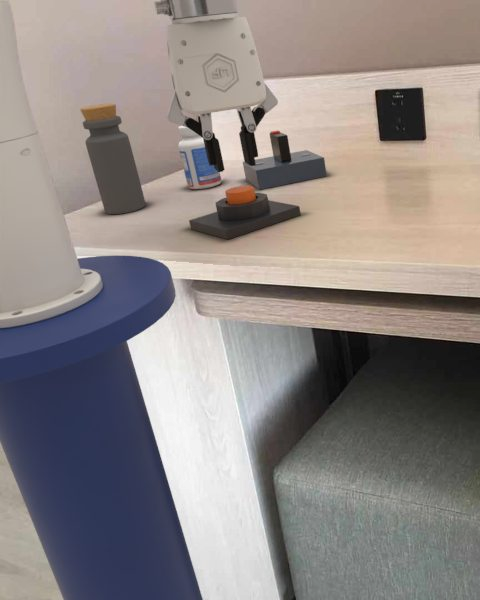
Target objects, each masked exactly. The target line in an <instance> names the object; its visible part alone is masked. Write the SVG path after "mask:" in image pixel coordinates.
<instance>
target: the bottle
mask: <svg viewBox="0 0 480 600" xmlns="http://www.w3.org/2000/svg"><path fill="white" fill-rule="evenodd" d="M79 110H80V112H81V115H82V116H83V118H84V121H82V127H83V129H84V130H88V131H89V136H88V137H87V138H86V139H85V142H84V143H85V146H86V150H87V154H88V157H89V161H90V164H91V168H92V171H93V174H94V178H95V182H96V185H97V188H98V192H99V193H98V194H99V196H100V199H101V202H102V207H103V209H104V212H105V214H107V215H122V214H123V215H124V214H127V213H132V212H136V211H138V210H141V209H143V208H145V207H146V206H147V205H146V200H145V195H144V191H143V188H142V183H141V180H140V176H139V173H138V168H137V165H136V161H135V156H134V153H133V149H132V145H131V142H130V138H129V135H128V133H126V132H124V131H121V130H120V126H119V125H121V124H122V123H123V121H122V118H121V116H119V115H117V105H116V103H112V102H111V103H101V104H94V105H89V106H88V105H87V106H84V107H81V108H80V109H79Z"/></svg>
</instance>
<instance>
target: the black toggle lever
mask: <svg viewBox="0 0 480 600" xmlns="http://www.w3.org/2000/svg"><path fill="white" fill-rule="evenodd" d="M269 132H270V133H269V140H270V144H271V151H272V156H274V158H275V159H277V160H278V161H280V162H287V161H291V154H290V153H291V150H290V142H289V136H288V134H285V133H283V132H281V131H280V130H279V129H278V130H277V129H276V130H272V131H269Z"/></svg>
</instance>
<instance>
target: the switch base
mask: <svg viewBox="0 0 480 600" xmlns="http://www.w3.org/2000/svg"><path fill="white" fill-rule="evenodd" d="M255 196H256V200H254V201H250V202H247V203H241V204H228V203H227V198H226V197H223V198H220V199H219V200H217V201H216V202H215V209H216V211H215V212H211V213H207V214H205V215H201V216H198V217H196V218H192V219H189V220H188V221H189V222H188V223H189V227H190V230H193V231H197V232H199V233H200V232H201V233H202V234H203V233H204V234H207V235H211V236H214V237H216V238H217V237H218V238H221V239H225V240H231V239H235V238H237V237H240V236H243V235H245V234H249V233H252V232H254V231H257V230H260V229H264V228H266V227H269V226H273V225H276V224H279V223H281V222H284V221H288V220H290V219H293V218H296V217H299V216H301V207H300V206H299V205H295V204H290V203H284V202H279V201H273V200H269V196H268V195H267V193H264V192H255Z"/></svg>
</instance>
